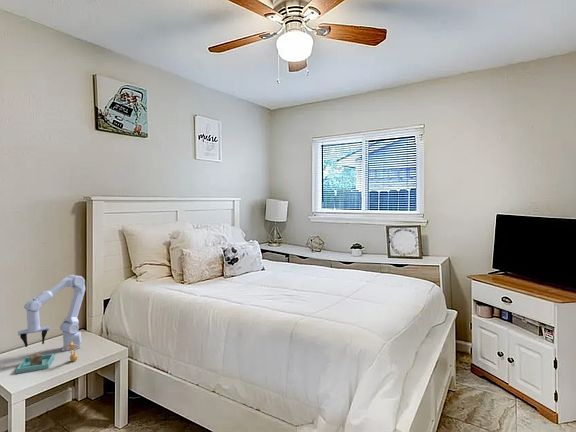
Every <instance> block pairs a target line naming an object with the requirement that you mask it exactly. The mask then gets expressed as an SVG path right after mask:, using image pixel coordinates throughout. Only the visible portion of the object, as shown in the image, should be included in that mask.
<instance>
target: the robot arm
mask: <svg viewBox="0 0 576 432" xmlns="http://www.w3.org/2000/svg"><path fill="white" fill-rule="evenodd" d="M69 287H71V288H72V289H73V291H74V293H73V297H72V300H71V303H70V307H69V309H68V314H67V316H66V317H65V318H64V319H63V321H62V323H61V324H60V325H59V326H60V327H59V328H60V331H61V332H62V344H63V346H62V349H61V351H62V352H63V351H65V352H66V351H70V350H69V348H70V347H69V346H67V347H66V348H65V346H66V345H68V344H70V343H71V341H72V342H73V344H75V345H78V346H79V347H80V348H81V346H82V344H83V342H82V332H81V331H79V329H80V328H79V327H80V325H79V322H80V321H79V319H78V317H79V313H80V309H81V306H82V303H83V300H84V296H85V292H86V280H85V278H84V277H83V276H81V275H76V274H68V275H67V276H66V277H63V279H62V280H61V281H59V282H58V283H57V284H56V285H54V286H53V287H52V288H50V289H49V290H42V291H41V292H40V293H39V294H38V295H36V296H35V297H34V296H33V297H32V299H30V300H27V301H26V302H25V304H24V306H23V308H24V309H25V310H26V322H27V323H26V324H27V328H26V329H22V330H18V331H17V336H19V338H20V339H21V340H22V342H23V344H24V346H25V348H27V347H28V334H34V333H40V332H41V344H42V345H44V344H45V338H46V336H47V333H48V332H49V331H50V329H51V327H50V326H49V325H48V326H47V325H46V326H41V321H40V320H41V319H40V309H41V308H42V306H43V305H45V304H46V303H47V302H49V301H50V300H51V299H53V296H54V295H55V294H57V293H58V292H61V291H62V290H63V289H65V288H69ZM79 347H77V346H73V348H75V350H78V349H80V348H79ZM64 348H65V350H64Z"/></svg>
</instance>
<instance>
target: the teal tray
mask: <svg viewBox="0 0 576 432" xmlns="http://www.w3.org/2000/svg"><path fill="white" fill-rule="evenodd" d="M41 355H42V365H35V366H31V365H30V356H29V357H24V358H23V360H22V361H21V362H20V363H19V365H18V366H17V368H15V369H16V374H17V375H18V374H22V373H23V374H24V373H30V372H36V371H43V370H48V369H49V368H50V366H51V364H52V363H53V361H54V359H55V353H48V354H41Z"/></svg>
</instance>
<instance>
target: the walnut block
mask: <svg viewBox="0 0 576 432" xmlns="http://www.w3.org/2000/svg"><path fill="white" fill-rule="evenodd" d="M42 355H43V354H41V353H40V352H39V353H36V354H35V353H34V354H31V355H29V357H30V365H31V366H35V365H42Z"/></svg>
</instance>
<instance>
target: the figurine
mask: <svg viewBox="0 0 576 432" xmlns="http://www.w3.org/2000/svg"><path fill="white" fill-rule="evenodd" d="M67 346H69V347H70V348H69V350H68V351H70V354H71V355H70V356H69V360H70V362H76V361H77V360H78V358H79V357H78V356H79V355H78V354H77V353H75V352H76V349H75V348H73V346H77V347H79V346H78V345H75V344H73V342H72V341H71V343H70V344H68V345H66V346H65V348H66V347H67ZM65 348H64V350H65ZM79 349H81V346H80V347H79ZM65 351H66V350H65Z"/></svg>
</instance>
